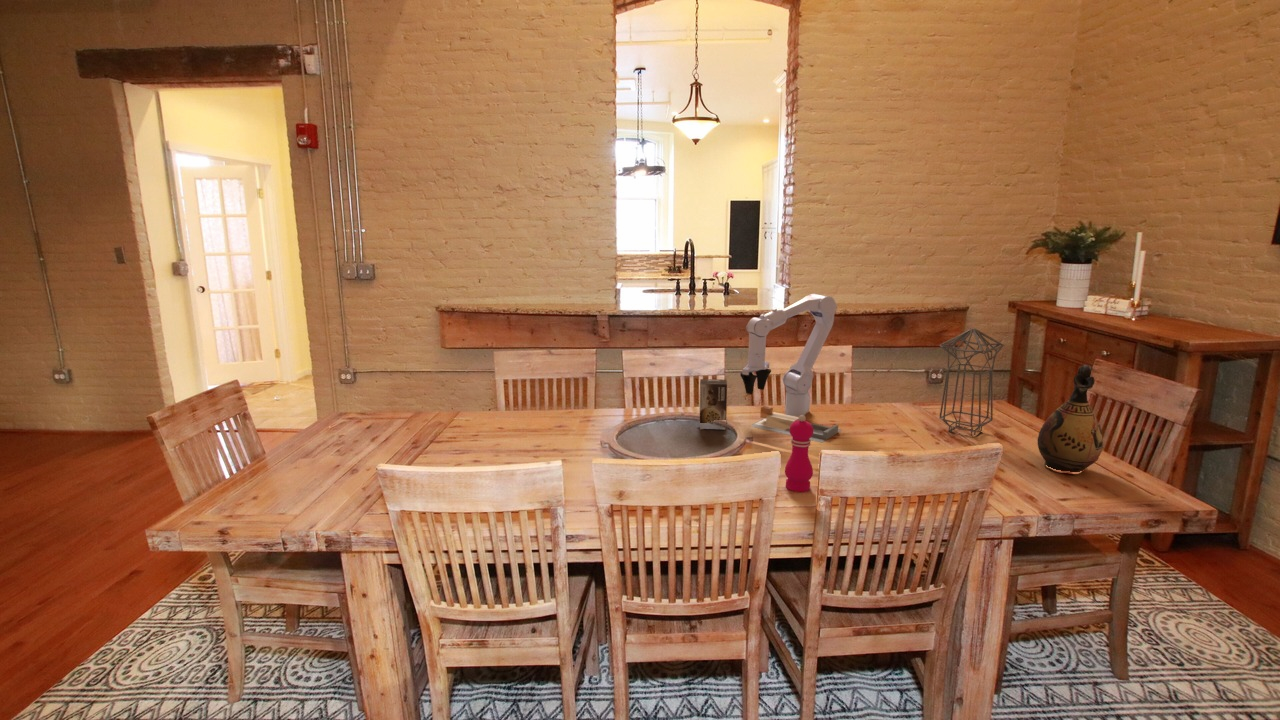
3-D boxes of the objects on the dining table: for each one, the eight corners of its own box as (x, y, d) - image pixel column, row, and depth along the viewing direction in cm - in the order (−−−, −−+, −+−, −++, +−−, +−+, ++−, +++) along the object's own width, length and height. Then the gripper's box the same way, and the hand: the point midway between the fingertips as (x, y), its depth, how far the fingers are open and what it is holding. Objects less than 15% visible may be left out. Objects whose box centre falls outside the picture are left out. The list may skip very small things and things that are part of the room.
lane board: (770, 416, 232) (771, 408, 232) (841, 432, 217) (842, 422, 216) (748, 428, 220) (749, 419, 219) (822, 445, 204) (823, 435, 204)
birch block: (765, 418, 228) (766, 405, 226) (799, 426, 220) (800, 411, 219) (758, 422, 224) (759, 408, 223) (793, 429, 216) (794, 415, 215)
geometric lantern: (979, 443, 207) (989, 334, 200) (930, 432, 219) (937, 329, 211) (998, 432, 217) (1009, 328, 210) (951, 422, 229) (959, 323, 221)
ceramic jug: (1099, 484, 176) (1118, 376, 169) (1033, 472, 184) (1048, 368, 177) (1096, 464, 190) (1113, 364, 184) (1034, 453, 198) (1049, 357, 191)
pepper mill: (780, 482, 176) (784, 411, 172) (806, 481, 177) (811, 410, 172) (788, 493, 169) (793, 419, 165) (815, 492, 170) (820, 419, 165)
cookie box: (725, 424, 223) (727, 379, 220) (726, 430, 217) (728, 384, 214) (698, 423, 224) (700, 378, 221) (698, 429, 218) (700, 383, 214)
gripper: (755, 358, 216) (754, 397, 219) (777, 351, 226) (775, 389, 229) (737, 355, 220) (736, 393, 223) (760, 348, 231) (758, 385, 234)
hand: (755, 391), depth 226 cm, fingers open, 7 cm apart
